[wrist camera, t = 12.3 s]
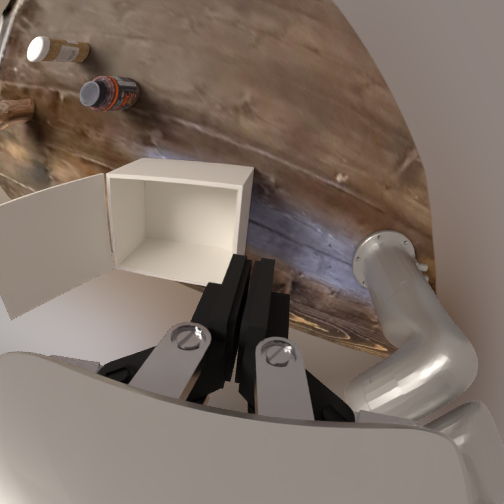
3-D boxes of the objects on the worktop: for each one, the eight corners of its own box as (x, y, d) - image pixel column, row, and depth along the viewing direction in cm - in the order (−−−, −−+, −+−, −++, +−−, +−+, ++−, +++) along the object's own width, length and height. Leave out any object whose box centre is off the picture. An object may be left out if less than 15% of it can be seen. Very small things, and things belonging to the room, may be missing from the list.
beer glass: (23, 128, 46) (-25, 143, 33) (17, 104, 43) (-30, 114, 30) (38, 115, 44) (-12, 127, 31) (33, 89, 41) (-17, 96, 28)
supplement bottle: (129, 115, 44) (92, 120, 34) (108, 100, 42) (68, 103, 33) (146, 87, 41) (110, 84, 31) (123, 72, 40) (85, 69, 30)
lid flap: (-24, 215, 21) (-24, 213, 22) (11, 320, 29) (10, 317, 29) (103, 173, 36) (101, 173, 37) (113, 269, 44) (111, 267, 44)
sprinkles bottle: (86, 38, 36) (39, 31, 24) (92, 53, 38) (45, 48, 26) (71, 52, 38) (24, 49, 26) (76, 67, 39) (28, 67, 27)
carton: (254, 167, 46) (242, 185, 35) (244, 253, 54) (233, 290, 43) (143, 157, 47) (106, 173, 37) (145, 237, 55) (115, 268, 44)
